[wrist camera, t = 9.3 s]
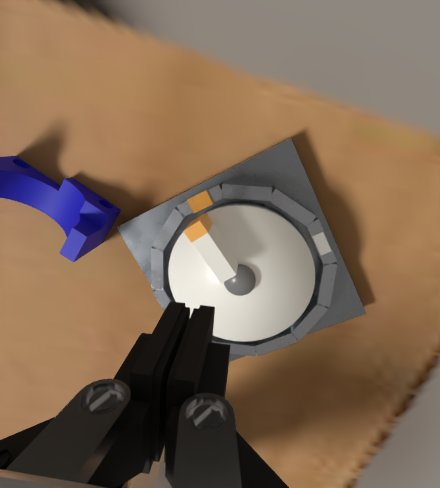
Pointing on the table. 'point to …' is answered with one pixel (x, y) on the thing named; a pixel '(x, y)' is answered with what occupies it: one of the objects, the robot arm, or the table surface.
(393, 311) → the table surface
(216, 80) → the table surface
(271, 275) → the dial
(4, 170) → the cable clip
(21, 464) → the robot arm
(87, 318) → the table surface
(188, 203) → the panel
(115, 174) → the table surface
